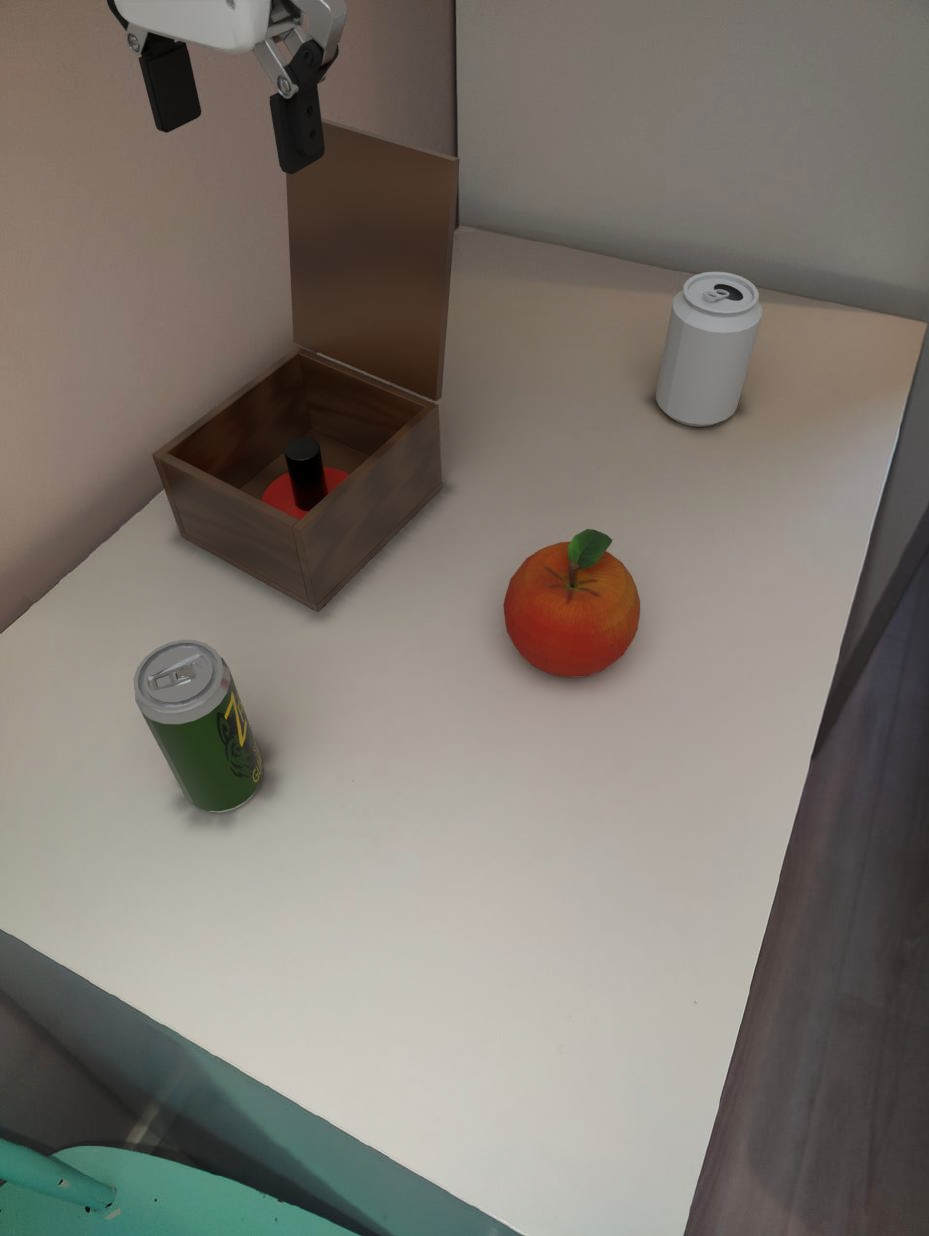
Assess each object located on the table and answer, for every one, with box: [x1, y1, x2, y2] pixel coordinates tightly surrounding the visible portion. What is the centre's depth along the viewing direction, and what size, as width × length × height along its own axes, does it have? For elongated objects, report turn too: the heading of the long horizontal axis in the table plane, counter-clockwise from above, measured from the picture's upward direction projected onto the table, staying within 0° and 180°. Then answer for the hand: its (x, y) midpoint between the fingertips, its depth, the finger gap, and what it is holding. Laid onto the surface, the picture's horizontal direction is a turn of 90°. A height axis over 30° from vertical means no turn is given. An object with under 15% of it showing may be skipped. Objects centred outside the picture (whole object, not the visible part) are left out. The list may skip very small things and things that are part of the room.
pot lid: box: [262, 437, 349, 520], centre depth 73 cm, size 8×8×6 cm
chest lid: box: [285, 117, 460, 402], centre depth 67 cm, size 17×15×1 cm
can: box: [655, 271, 763, 428], centre depth 79 cm, size 8×8×12 cm
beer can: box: [133, 639, 265, 813], centre depth 55 cm, size 5×5×12 cm
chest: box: [151, 345, 443, 613], centre depth 72 cm, size 17×15×9 cm
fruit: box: [502, 528, 641, 678], centre depth 63 cm, size 10×10×10 cm
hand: (239, 143), depth 53 cm, fingers open, 9 cm apart
